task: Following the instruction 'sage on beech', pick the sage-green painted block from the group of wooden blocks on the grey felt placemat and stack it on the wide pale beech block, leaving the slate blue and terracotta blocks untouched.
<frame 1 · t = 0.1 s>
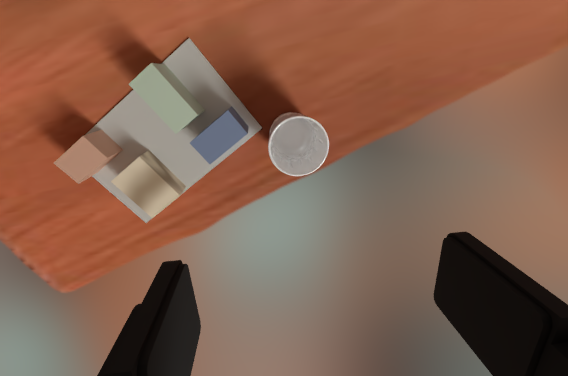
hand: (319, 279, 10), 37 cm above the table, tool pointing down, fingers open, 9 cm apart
sage block: (176, 97, 42), resting on felt placemat
felt placemat: (165, 140, 44), on the table
white cup: (290, 133, 46), on the table
beech block: (155, 179, 46), resting on felt placemat
terracotta block: (99, 151, 44), resting on felt placemat
slate blue block: (223, 130, 44), resting on felt placemat
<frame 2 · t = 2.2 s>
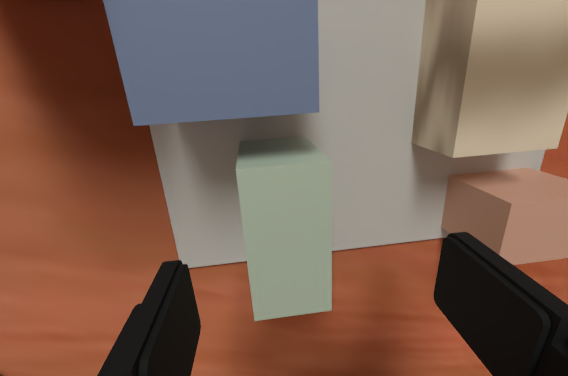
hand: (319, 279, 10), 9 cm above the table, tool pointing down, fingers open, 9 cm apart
sage block: (277, 199, 19), resting on felt placemat
felt placemat: (365, 138, 18), on the table
beech block: (464, 74, 17), resting on felt placemat
terracotta block: (483, 197, 20), resting on felt placemat
slate blue block: (231, 69, 16), resting on felt placemat
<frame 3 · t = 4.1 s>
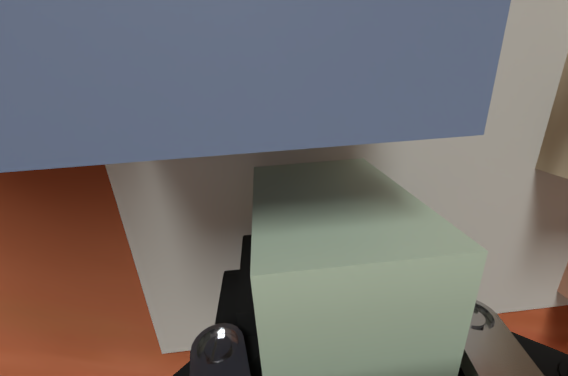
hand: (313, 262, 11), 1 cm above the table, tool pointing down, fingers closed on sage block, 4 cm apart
sage block: (311, 255, 12), resting on felt placemat, touching gripper
felt placemat: (461, 161, 11), on the table
slate blue block: (241, 41, 9), resting on felt placemat
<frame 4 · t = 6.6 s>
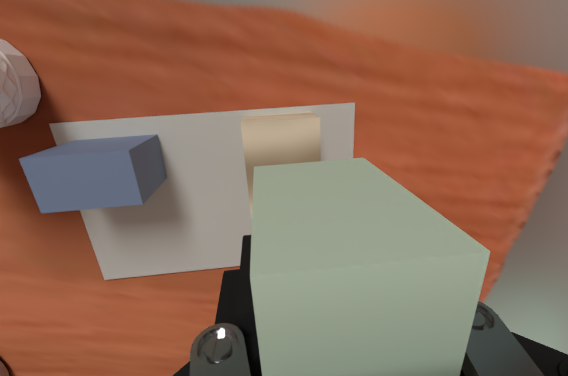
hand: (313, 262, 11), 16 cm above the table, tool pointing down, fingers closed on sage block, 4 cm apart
sage block: (311, 255, 12), point 16 cm above the table, touching gripper
felt placemat: (220, 197, 27), on the table
beech block: (279, 158, 26), resting on felt placemat
slate blue block: (122, 159, 25), resting on felt placemat
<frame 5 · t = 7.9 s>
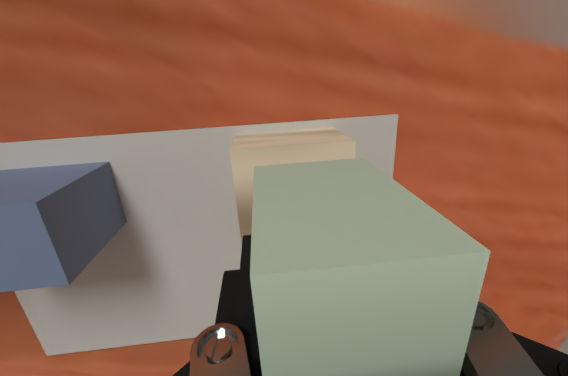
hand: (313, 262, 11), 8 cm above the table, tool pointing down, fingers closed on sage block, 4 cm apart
sage block: (311, 255, 12), point 7 cm above the table, touching gripper
felt placemat: (204, 246, 19), on the table
beech block: (288, 192, 18), resting on felt placemat
slate blue block: (58, 197, 17), resting on felt placemat
when the fingers open (6 cm above the table, at t = 9.1 s): sage block drops 1 cm, resting on beech block.
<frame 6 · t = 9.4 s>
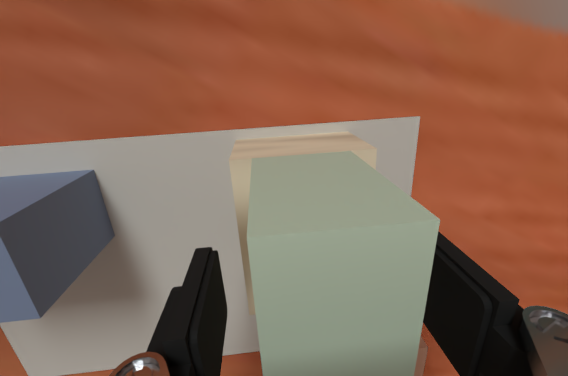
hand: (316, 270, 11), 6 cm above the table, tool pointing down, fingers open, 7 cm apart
sage block: (304, 240, 13), point 4 cm above the table, touching beech block
felt placemat: (202, 261, 18), on the table
beech block: (295, 203, 16), resting on felt placemat, touching sage block
terracotta block: (343, 309, 20), resting on felt placemat
slate blue block: (38, 210, 15), resting on felt placemat
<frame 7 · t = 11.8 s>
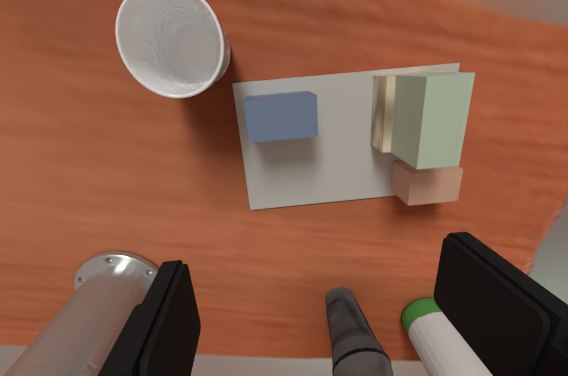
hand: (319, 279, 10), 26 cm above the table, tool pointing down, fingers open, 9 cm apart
sage block: (411, 114, 30), point 4 cm above the table, touching beech block
wine bottle: (421, 311, 48), on the table
felt placemat: (346, 142, 35), on the table
white cup: (199, 51, 30), on the table
beech block: (396, 109, 34), resting on felt placemat, touching sage block
beverage cup: (338, 297, 45), on the table
terracotta block: (413, 173, 37), resting on felt placemat
slate blue block: (279, 111, 33), resting on felt placemat
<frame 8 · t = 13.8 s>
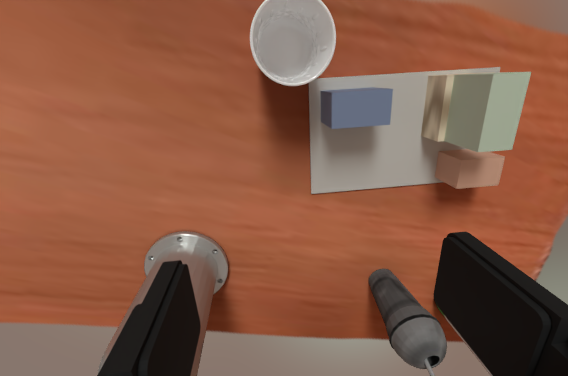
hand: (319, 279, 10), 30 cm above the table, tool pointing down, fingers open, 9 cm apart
sage block: (464, 108, 35), point 4 cm above the table, touching beech block
felt placemat: (400, 133, 40), on the table
white cup: (283, 50, 35), on the table
beech block: (445, 105, 39), resting on felt placemat, touching sage block
beverage cup: (380, 278, 50), on the table
terracotta block: (455, 162, 42), resting on felt placemat
slate blue block: (346, 104, 38), resting on felt placemat
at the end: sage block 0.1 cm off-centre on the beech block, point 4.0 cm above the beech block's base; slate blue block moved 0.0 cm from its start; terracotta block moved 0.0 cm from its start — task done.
